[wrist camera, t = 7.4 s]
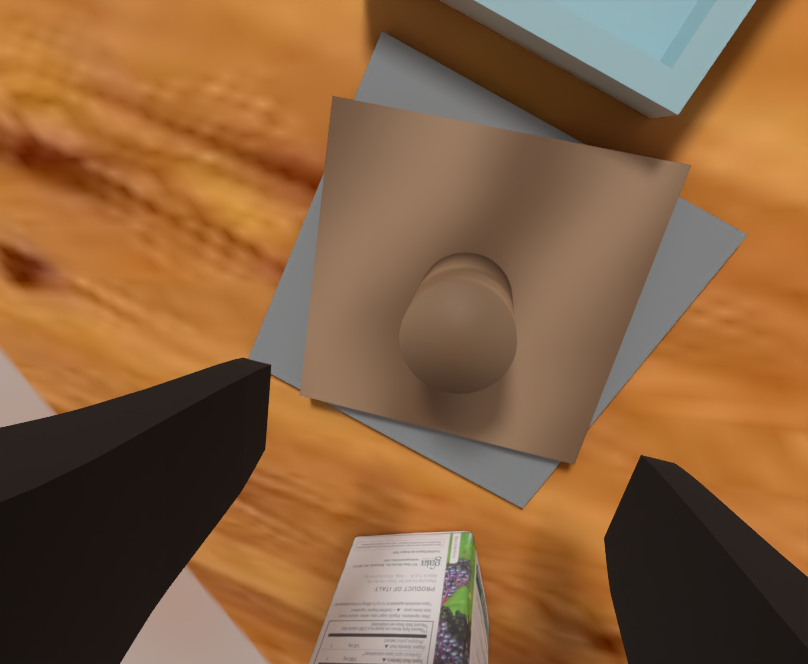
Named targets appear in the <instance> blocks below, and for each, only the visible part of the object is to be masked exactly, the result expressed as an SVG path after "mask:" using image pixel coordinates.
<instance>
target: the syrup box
mask: <svg viewBox="0 0 808 664" xmlns="http://www.w3.org/2000/svg"><path fill="white" fill-rule="evenodd" d="M488 636H489V621H488V613H487V606H486V599H485V592H484V587H483V582H482V577H481V572H480V567H479V562H478V557H477V552H476V548H475V543H474V538H473V534H472V533H470V532H469V531H455V532H432V533H410V534H392V535H376V536H358V537H355V539H354V542H353V544H352V547H351V550H350V552H349V555H348V558H347V560H346V563H345V566H344V569H343V572H342V575H341V577H340V580H339V582H338V585H337V588H336V591H335V593H334V595H333V598H332V601H331V604H330V607H329V610H328V612H327V615H326V617H325V620H324V623H323V626H322V629H321V631H320V634H319V637H318V640H317V643H316V645H315V648H314V651H313V653H312V656H311V659H310V661H309V664H488Z"/></svg>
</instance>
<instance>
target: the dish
mask: <svg viewBox="0 0 808 664" xmlns="http://www.w3.org/2000/svg"><path fill="white" fill-rule="evenodd" d="M439 1H441V2H443V3H445V4H447V5H448V6H450V7H452V8H454V9H455V10H457V11H459V12H461V13H463V14H464V15H466V16H468V17H470V18H472V19H473V20H475V21H477V22H479V23H480V24H482V25H484V26H486V27H488V28H489V29H491V30H493V31H495V32H497V33H498V34H500V35H502V36H504V37H505V38H507V39H509V40H511V41H513V42H514V43H516V44H518V45H520V46H521V47H523V48H525V49H527V50H529V51H530V52H532V53H534V54H536V55H538V56H539V57H541V58H543V59H545V60H546V61H548V62H550V63H552V64H554V65H555V66H557V67H559V68H561V69H562V70H564V71H566V72H568V73H570V74H571V75H573V76H575V77H577V78H579V79H580V80H582V81H584V82H586V83H587V84H589V85H591V86H593V87H595V88H596V89H598V90H600V91H602V92H603V93H605V94H607V95H609V96H611V97H612V98H614V99H616V100H618V101H620V102H621V103H623V104H625V105H627V106H628V107H630V108H632V109H634V110H636V111H637V112H639V113H641V114H643V115H644V116H646V117H648V118H650V119H651V118H659V117H666V116H674V115H678V114H679V113H680V111H681V110H682V109H683V107H684V106H685V104H686V103H687V101H688V100H689V98H690V97H691V95H692V94H693V92H694V91H695V89H696V88H697V87H698V85H699V84H700V82H701V81H702V79H703V78H704V76H705V75H706V73H707V72H708V70H709V69H710V67H711V66H712V65H713V63H714V62H715V60H716V59H717V57H718V56H719V54H720V53H721V51H722V50H723V48H724V47H725V46H726V44H727V43H728V41H729V40H730V38H731V37H732V35H733V34H734V32H735V31H736V29H737V28H738V26H739V25H740V24H741V22H742V21H743V19H744V18H745V16H746V15H747V13H748V12H749V10H750V9H751V7H752V6H753V4H754V3H755V2H756V0H439Z"/></svg>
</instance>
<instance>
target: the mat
mask: <svg viewBox="0 0 808 664" xmlns="http://www.w3.org/2000/svg"><path fill="white" fill-rule="evenodd" d="M354 100H356V101H361V102H366V103H371V104H377V105H382V106H387V107H392V108H397V109H403V110H408V111H413V112H418V113H423V114H429V115H434V116H439V117H444V118H449V119H454V120H460V121H465V122H470V123H475V124H480V125H486V126H491V127H496V128H501V129H506V130H511V131H517V132H522V133H527V134H532V135H537V136H543V137H548V138H553V139H558V140H563V141H569V142H574V143H579V144H584V143H582V142H580V141H578V140H576V139H575V138H573V137H571V136H569V135H568V134H566V133H564V132H562V131H560V130H559V129H557V128H555V127H553V126H551V125H550V124H548V123H546V122H544V121H542V120H541V119H539V118H537V117H535V116H533V115H532V114H530V113H528V112H526V111H524V110H523V109H521V108H519V107H517V106H515V105H514V104H512V103H510V102H508V101H507V100H505V99H503V98H501V97H499V96H498V95H496V94H494V93H492V92H490V91H489V90H487V89H485V88H483V87H481V86H480V85H478V84H476V83H474V82H472V81H471V80H469V79H467V78H465V77H463V76H462V75H460V74H458V73H456V72H454V71H453V70H451V69H449V68H447V67H446V66H444V65H442V64H440V63H438V62H437V61H435V60H433V59H431V58H429V57H428V56H426V55H424V54H422V53H420V52H419V51H417V50H415V49H413V48H411V47H410V46H408V45H406V44H404V43H402V42H401V41H399V40H397V39H395V38H393V37H392V36H390V35H388V34H386V33H385V32H383V31H382V32H381V34H380V37H379V39H378V42H377V44H376V47H375V49H374V51H373V54H372V56H371V59H370V61H369V64H368V66H367V69H366V71H365V74H364V76H363V78H362V81H361V83H360V86H359V88H358V91H357V93H356V96H355V98H354ZM584 145H585V144H584ZM323 179H324V174H323V177H322V179H321V181H320V184H319V186H318V189H317V191H316V194H315V196H314V199H313V201H312V203H311V206H310V208H309V211H308V213H307V216H306V218H305V221H304V223H303V226H302V228H301V230H300V233H299V235H298V238H297V240H296V243H295V245H294V248H293V250H292V253H291V255H290V257H289V260H288V262H287V265H286V267H285V270H284V272H283V275H282V277H281V280H280V282H279V284H278V287H277V289H276V292H275V294H274V297H273V299H272V302H271V304H270V306H269V309H268V311H267V314H266V316H265V319H264V321H263V324H262V326H261V329H260V331H259V333H258V336H257V338H256V341H255V343H254V346H253V348H252V351H251V353H250V356H249V358H248V359H250V360H254V361H258V362H262V363H267V364H271V374H272V375H274V376H276V377H278V378H280V379H282V380H283V381H285V382H287V383H289V384H291V385H293V386H295V387H297V388H298V389H301V380H302V371H303V362H304V352H305V343H306V334H307V325H308V316H309V307H310V298H311V289H312V279H313V270H314V261H315V252H316V243H317V234H318V225H319V216H320V207H321V197H322V188H323ZM746 236H747V234H745V233H743V232H742V231H740V230H738V229H736V228H734V227H733V226H731V225H729V224H727V223H725V222H724V221H722V220H720V219H718V218H716V217H715V216H713V215H711V214H709V213H707V212H706V211H704V210H702V209H700V208H698V207H697V206H695V205H693V204H691V203H690V202H688V201H686V200H684V199H682V198H681V197H678V200H677V203H676V205H675V208H674V210H673V213H672V215H671V218H670V221H669V223H668V226H667V228H666V231H665V233H664V236H663V238H662V241H661V244H660V246H659V249H658V251H657V254H656V256H655V259H654V262H653V264H652V267H651V269H650V272H649V274H648V277H647V280H646V282H645V285H644V287H643V290H642V292H641V295H640V297H639V300H638V303H637V305H636V308H635V310H634V313H633V315H632V318H631V321H630V323H629V326H628V328H627V331H626V333H625V336H624V338H623V341H622V344H621V346H620V349H619V351H618V354H617V356H616V359H615V362H614V364H613V367H612V369H611V372H610V374H609V377H608V380H607V382H606V385H605V387H604V390H603V392H602V395H601V397H600V400H599V403H598V405H597V408H596V410H595V413H594V415H593V418H592V421H591V423H590V426H591V425H592V423H593V422H594V421H595V420H596V419H597V417H598V416H599V415H600V414H601V412H602V411H603V410H604V409H605V408H606V406H607V405H608V404H609V403H610V402H611V400H612V399H613V398H614V397H615V395H616V394H617V393H618V392H619V391H620V389H621V388H622V387H623V386H624V385H625V383H626V382H627V381H628V380H629V378H630V377H631V376H632V375H633V374H634V372H635V371H636V370H637V369H638V367H639V366H640V365H641V364H642V363H643V361H644V360H645V359H646V358H647V357H648V355H649V354H650V353H651V352H652V350H653V349H654V348H655V347H656V346H657V344H658V343H659V342H660V341H661V339H662V338H663V337H664V336H665V335H666V333H667V332H668V331H669V330H670V329H671V327H672V326H673V325H674V324H675V322H676V321H677V320H678V319H679V318H680V316H681V315H682V314H683V313H684V312H685V310H686V309H687V308H688V307H689V305H690V304H691V303H692V302H693V301H694V299H695V298H696V297H697V296H698V294H699V293H700V292H701V291H702V290H703V288H704V287H705V286H706V285H707V284H708V282H709V281H710V280H711V279H712V277H713V276H714V275H715V274H716V273H717V271H718V270H719V269H720V268H721V267H722V265H723V264H724V263H725V262H726V260H727V259H728V258H729V257H730V256H731V254H732V253H733V252H734V251H735V249H736V248H737V247H738V246H739V245H740V243H741V242H742V241H743V240H744V239H745V237H746ZM323 402H324V401H323ZM325 403H326V404H328V405H330V406H332V407H334V408H336V409H338V410H340V411H341V412H343V413H345V414H347V415H349V416H351V417H353V418H354V419H356V420H358V421H360V422H362V423H364V424H366V425H368V426H369V427H371V428H373V429H375V430H377V431H379V432H381V433H383V434H384V435H386V436H388V437H390V438H392V439H394V440H396V441H398V442H399V443H401V444H403V445H405V446H407V447H409V448H411V449H412V450H414V451H416V452H418V453H420V454H422V455H424V456H426V457H427V458H429V459H431V460H433V461H435V462H437V463H439V464H441V465H442V466H444V467H446V468H448V469H450V470H452V471H454V472H455V473H457V474H459V475H461V476H463V477H465V478H467V479H469V480H470V481H472V482H474V483H476V484H478V485H480V486H482V487H484V488H485V489H487V490H489V491H491V492H493V493H495V494H497V495H499V496H500V497H502V498H504V499H506V500H508V501H510V502H512V503H513V504H515V505H517V506H519V507H521V508H523V507H524V506H525V505H526V504H527V502H528V501H529V500H530V499H531V498H532V496H533V495H534V494H535V493H536V492H537V490H538V489H539V488H540V487H541V485H542V484H543V483H544V482H545V481H546V479H547V478H548V477H549V476H550V475H551V473H552V472H553V471H554V470H555V468H556V467H557V466H558V465H559V464H560V462H561V461H558V460H554V459H550V458H546V457H542V456H538V455H534V454H530V453H526V452H522V451H518V450H514V449H510V448H506V447H502V446H499V445H495V444H491V443H487V442H483V441H479V440H475V439H471V438H467V437H463V436H459V435H455V434H451V433H447V432H443V431H439V430H435V429H431V428H427V427H423V426H419V425H415V424H411V423H407V422H403V421H399V420H395V419H391V418H387V417H383V416H379V415H375V414H372V413H368V412H364V411H360V410H356V409H352V408H348V407H344V406H340V405H336V404H332V403H328V402H325ZM590 426H589V427H590Z"/></svg>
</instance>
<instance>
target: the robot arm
mask: <svg viewBox="0 0 808 664" xmlns="http://www.w3.org/2000/svg"><path fill="white" fill-rule="evenodd" d="M270 377H271V364H267V363H262V362H258V361H254V360H250V359H246V358H239V359H235V360H231V361H228V362H224V363H221V364H218V365H215V366H212V367H209V368H206V369H203V370H200V371H197V372H194V373H192V374H189V375H186V376H183V377H180V378H177V379H174V380H171V381H168V382H165V383H162V384H159V385H156V386H153V387H151V388H147V389H144V390H141V391H138V392H135V393H131V394H128V395H125V396H121V397H118V398H115V399H111V400H108V401H105V402H101V403H98V404H95V405H92V406H88V407H85V408H81V409H77V410H74V411H70V412H66V413H62V414H58V415H54V416H50V417H46V418H42V419H38V420H33V421H28V422H24V423H19V424H15V425H11V426H6V427H1V428H0V664H120V662H121V661H122V659H123V658H124V656H125V654H126V653H127V651H128V650H129V648H130V646H131V644H132V643H133V641H134V640H135V638H136V637H137V635H138V633H139V632H140V630H141V629H142V627H143V625H144V624H145V622H146V621H147V619H148V617H149V616H150V614H151V613H152V611H153V610H154V608H155V607H156V605H157V604H158V602H159V601H160V600H161V598H162V597H163V595H164V594H165V593H166V591H167V590H168V588H169V587H170V586H171V584H172V583H173V582H174V580H175V579H176V578H177V576H178V575H179V573H180V572H181V571H182V569H183V568H184V567H185V566H186V565H187V563H188V562H189V561H190V559H191V558H192V557H193V555H194V554H195V553H196V551H197V550H198V549H199V547H200V546H201V545H202V543H203V542H204V541H205V539H206V538H207V537H208V535H209V534H210V533H211V532H212V530H213V529H214V528H215V526H216V525H217V524H218V522H219V521H220V520H221V518H222V517H223V516H224V514H225V513H226V512H227V510H228V509H229V507H230V506H231V505H232V503H233V502H234V501H235V499H236V498H237V497H238V495H239V494H240V492H241V491H242V489H243V488H244V486H245V484H246V483H247V481H248V479H249V477H250V476H251V474H252V472H253V470H254V469H255V467H256V465H257V463H258V461H259V459H260V458H261V456H262V454H263V452H264V450H265V445H266V432H267V418H268V404H269V391H270ZM604 542H605V552H606V562H607V571H608V578H609V586H610V592H611V597H612V601H613V605H614V609H615V613H616V617H617V621H618V625H619V629H620V633H621V637H622V641H623V645H624V649H625V653H626V656H627V660H628V664H808V577H807V576H806V575H805V574H804V573H802V572H801V571H800V570H799V569H798V568H796V567H795V566H794V565H793V564H792V563H791V562H789V561H788V560H787V559H786V558H785V557H784V556H782V555H781V554H780V553H779V552H778V551H777V550H776V549H774V548H773V547H772V546H771V545H770V544H769V543H768V542H766V541H765V540H764V539H763V538H762V537H761V536H760V535H758V534H757V533H756V532H755V531H754V530H753V529H752V528H751V527H749V526H748V525H747V524H746V523H745V522H744V521H743V520H742V519H740V518H739V517H738V516H737V515H736V514H735V513H734V512H733V511H731V510H730V509H729V508H728V507H727V506H726V505H725V504H724V503H722V502H721V501H720V500H719V499H718V498H717V497H716V496H715V495H713V494H712V493H711V492H710V491H709V490H708V489H706V488H705V487H704V486H703V485H702V484H701V483H700V482H698V481H697V480H696V479H695V478H694V477H692V476H691V475H690V474H689V473H687V472H686V471H685V470H683V469H682V468H681V467H679V466H678V465H677V464H675V463H671V462H667V461H663V460H659V459H655V458H651V457H647V456H643V455H641V456H640V459H639V461H638V463H637V465H636V467H635V470H634V472H633V474H632V476H631V479H630V481H629V483H628V485H627V488H626V490H625V492H624V494H623V497H622V499H621V501H620V503H619V506H618V508H617V510H616V512H615V515H614V517H613V519H612V521H611V524H610V526H609V528H608V530H607V533H606V535H605V537H604Z"/></svg>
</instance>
